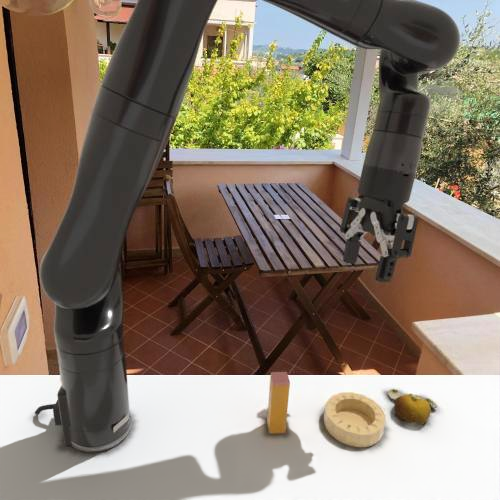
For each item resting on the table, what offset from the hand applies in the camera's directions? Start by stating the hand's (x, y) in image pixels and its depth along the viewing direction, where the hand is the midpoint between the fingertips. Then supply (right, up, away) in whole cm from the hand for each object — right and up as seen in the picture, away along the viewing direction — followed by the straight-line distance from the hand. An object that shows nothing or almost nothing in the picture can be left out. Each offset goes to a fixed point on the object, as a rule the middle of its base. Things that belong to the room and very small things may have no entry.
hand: (364, 271), depth 66 cm
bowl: (-1, -26, +5) cm, 26 cm away
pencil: (-14, -26, +3) cm, 29 cm away
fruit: (+11, -25, +9) cm, 29 cm away
